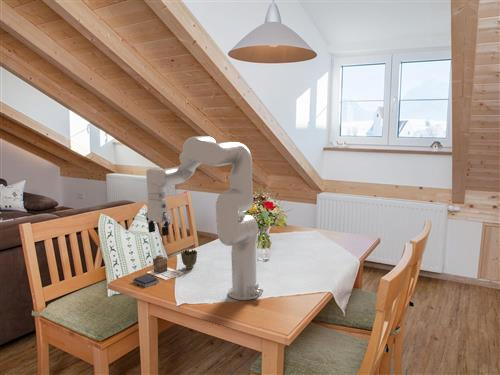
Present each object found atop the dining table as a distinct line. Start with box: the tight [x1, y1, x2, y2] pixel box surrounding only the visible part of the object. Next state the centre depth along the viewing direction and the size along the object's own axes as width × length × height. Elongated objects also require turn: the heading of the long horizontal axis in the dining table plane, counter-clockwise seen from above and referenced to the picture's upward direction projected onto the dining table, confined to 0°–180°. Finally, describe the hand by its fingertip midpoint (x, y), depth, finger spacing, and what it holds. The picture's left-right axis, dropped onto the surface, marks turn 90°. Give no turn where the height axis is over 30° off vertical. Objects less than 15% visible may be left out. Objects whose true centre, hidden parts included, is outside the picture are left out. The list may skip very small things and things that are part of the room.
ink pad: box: [132, 273, 160, 288], centre depth 179 cm, size 9×7×2 cm
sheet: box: [146, 266, 185, 281], centre depth 190 cm, size 14×10×1 cm
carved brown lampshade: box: [180, 249, 198, 270], centre depth 195 cm, size 8×7×8 cm
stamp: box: [152, 254, 168, 273], centre depth 191 cm, size 4×4×7 cm
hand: (158, 233), depth 189 cm, fingers open, 9 cm apart
